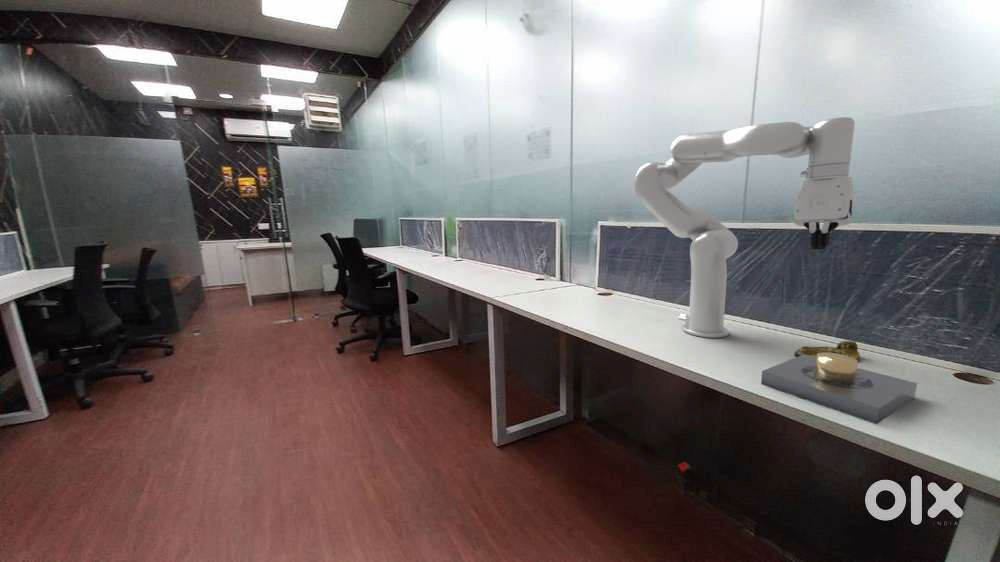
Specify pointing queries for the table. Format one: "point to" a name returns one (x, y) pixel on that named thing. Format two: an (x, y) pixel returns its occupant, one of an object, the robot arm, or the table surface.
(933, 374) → the table surface
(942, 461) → the table surface
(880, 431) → the table surface
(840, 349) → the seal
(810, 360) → the jig
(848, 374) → the gold cylinder
